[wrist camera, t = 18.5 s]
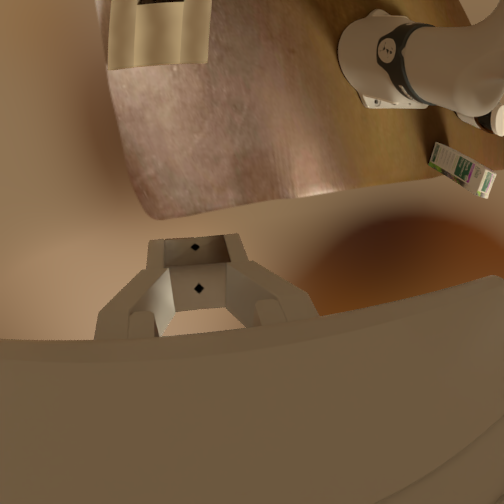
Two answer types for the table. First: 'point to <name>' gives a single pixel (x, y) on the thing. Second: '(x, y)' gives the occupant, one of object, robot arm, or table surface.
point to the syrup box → (462, 170)
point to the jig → (158, 33)
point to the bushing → (161, 1)
